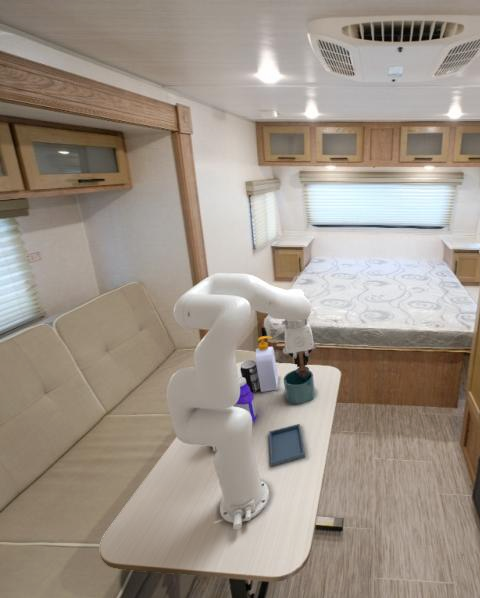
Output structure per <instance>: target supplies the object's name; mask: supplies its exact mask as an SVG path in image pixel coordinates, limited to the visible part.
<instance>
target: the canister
mask: <svg viewBox="0 0 480 598" xmlns="http://www.w3.org/2000/svg"><path fill="white" fill-rule="evenodd" d="M309 374H310V376H309V377H308V378H307V379H304V380H299V379H297V376H296V369H294V370H291V371H289V372H288V373H286V374H285V375H284V376H283V384H284V391H285V398H286V399H285V400H286V401H287V403H289V404H291V405H294V406H297V405H301V404H306V403H309V402H311V401H312V400H313V399H314V398H315V396H316V387H315V381H314V374H313V371H311V370H309Z"/></svg>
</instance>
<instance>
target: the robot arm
mask: <svg viewBox="0 0 480 598" xmlns="http://www.w3.org/2000/svg"><path fill="white" fill-rule="evenodd" d="M251 310H254V311H256V312H259V313H262V314H267V315H268V316H269V317H270V318H272V319H276V320H282V321H281V324H282V326H284V347H283V349H282V353H283V355H289V356H290V357H292V358H293V360H294V365H295V366H296V367H297V368H299V361H298V356H297V352H301V351H304V360H305V366H306V367H308V363H309V356H310V354H311V353H312V351H314V350H315V349H317V348H318V345H317V344H316V343H315V341H314V336H313V330H312V327H311V325H310V323H309V322H308V318H309V317H310V315H311V314H312V305H311V302H310V300H309V299H308V298H307V296H306V297H305V292H304V291H303V290H302V289H300V288H290V289H284V288H280V287H277V286H273V285H271V284H269V283H267V282H266V281H264V280H262V279H260V278H259V277H257V276H255V275H252V274H248V273H237V272H236V273H233V272H217V273H213V274H211V275H209V276H208V277H206V278H204V279H202V280H201V281H199V282H198V283H197V284H195V285H193V287H191V288H190V289H188V290H187V291H186V292H184V293H182V295H181V296H180V297H178V299H177V300H176V302H175V304H174V307H173V317H174V320H175V322H176V323H177V324H178V325H179V326H180V327H182V328H186V329H190V330H207V332H206V333H205V335H204V336H203V337H202V338H201V340H200V341H199V342H198V344H197V346H196V347H195V350H194V352H193V362H194V366H186V367H182V368H180V369H178V370H177V371H175V372H174V374H172V375H171V377H170V379H169V381H168V383H167V388H166V403H167V406H168V410H169V415H170V419H171V423H172V427H173V430H174V434H175V436H176V438H177V440H178V441H180V442H181V443H183V444H186V445H194V446H206V447H210V446H212V447H217V448H218V450H217V452H215V454H214V457H213V465H214V468H215V472H216V476H217V479H218V483H219V487H220V490H221V492H222V493H221V494H222V498H221V501H220V503H219V512H220V515H221V518H222V519H223V520H224V521H225V522H228V523H232V524H233V527H232V528H233V530H240V529H241V528H242V526H243V524H242V523H244V522H249V521H251V520H252V519H253V518H255V517H256V516H257V515H259V514H260V513H261V512H262V511H263V509H264V508H265V507H266V506H267V504H268V502H269V498H270V490H269V487H268V485H267V484H266V483H265V481H263V480H261V476H260V473H259V467H258V463H257V457H256V453H255V449H254V443H253V441H254V440H253V422H252V416H251V414H250V413H249V412H248V411H247V410H245V409H243V408H239V407H233V405H234V404H236V403H237V401H238V399H239V396H240V383H239V377H240V376H239V370H238V364H237V358H236V357H237V356H236V348H237V345H238V343H239V339H240V337H241V335H242V334H243V332H244V330H245V328H246V326H247V324H248V322H249V321H250V318H251V312H252V311H251Z"/></svg>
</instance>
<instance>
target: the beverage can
mask: <svg viewBox="0 0 480 598" xmlns="http://www.w3.org/2000/svg"><path fill="white" fill-rule="evenodd" d="M239 368H240V369H239V370H240V374H241V377H243V378H245V379H246V383H247V385H248V386H249V387H250V391H251V392H252V393H256V392H258V391H259V390H261V388H260V382H259V377H258V372H257V366H256V360H251V359H250V360H246V361H244V362H242V363H241V364H240V367H239Z"/></svg>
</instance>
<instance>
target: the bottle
mask: <svg viewBox="0 0 480 598" xmlns="http://www.w3.org/2000/svg"><path fill="white" fill-rule="evenodd" d="M239 383H240V396H239V399H238V401H237V403H236V404H234V405H233V407H239V408H243V409H245V410H247V411H248V412H249V413H250V414H251V416H252V423H254V422H255V420H256V419H257V417H258V412H257V406H256V400H255V396H254V394H253V393H254V392H253V393H252V392H251V391H250V387H249V386H248V385H247V383H246V379H245V378H243V377H242V376H239Z"/></svg>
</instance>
